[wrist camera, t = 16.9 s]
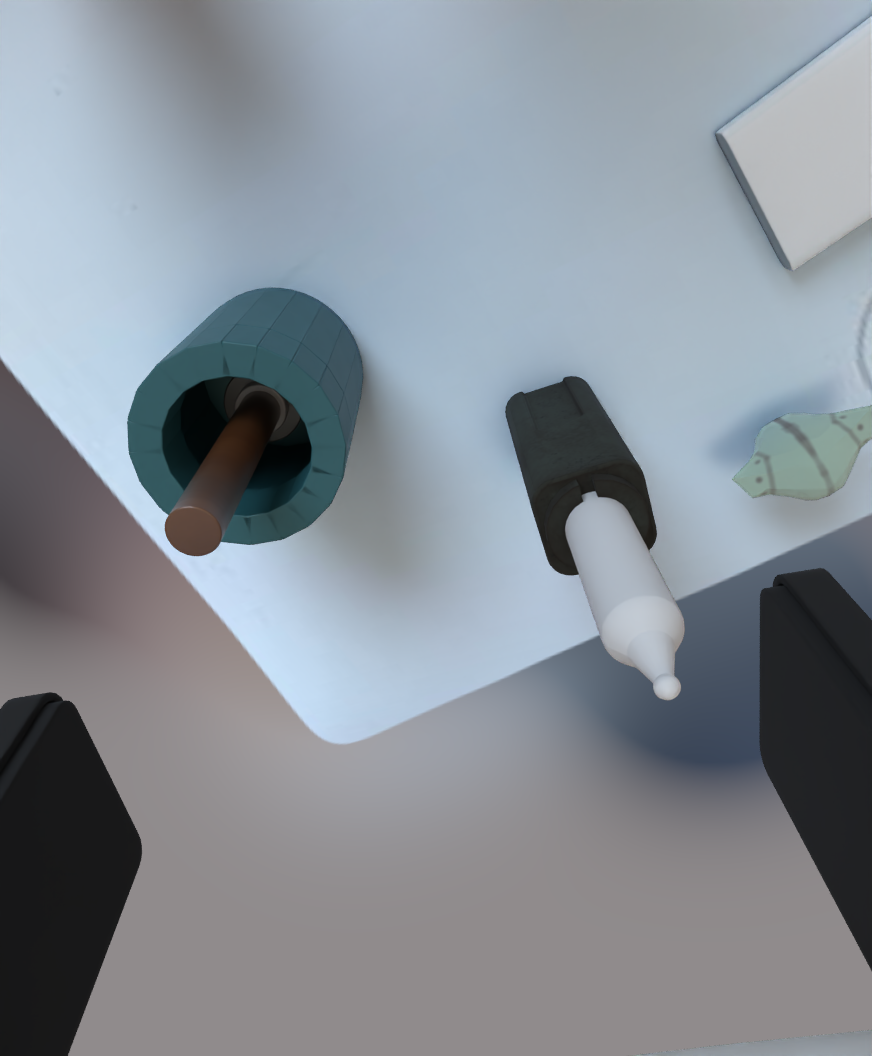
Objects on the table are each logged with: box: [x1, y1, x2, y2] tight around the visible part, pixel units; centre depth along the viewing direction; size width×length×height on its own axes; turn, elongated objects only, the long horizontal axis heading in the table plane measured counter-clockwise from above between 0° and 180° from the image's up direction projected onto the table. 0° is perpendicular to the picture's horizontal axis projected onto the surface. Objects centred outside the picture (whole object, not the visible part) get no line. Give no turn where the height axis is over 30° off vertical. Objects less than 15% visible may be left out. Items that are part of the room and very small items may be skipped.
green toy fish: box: [732, 405, 872, 500], centre depth 45 cm, size 8×4×7 cm, turn 122°
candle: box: [505, 376, 685, 700], centre depth 36 cm, size 5×5×25 cm
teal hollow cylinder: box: [127, 288, 363, 545], centre depth 40 cm, size 9×9×12 cm
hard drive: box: [715, 16, 872, 271], centre depth 40 cm, size 2×8×12 cm
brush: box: [165, 377, 301, 556], centre depth 37 cm, size 4×4×19 cm
